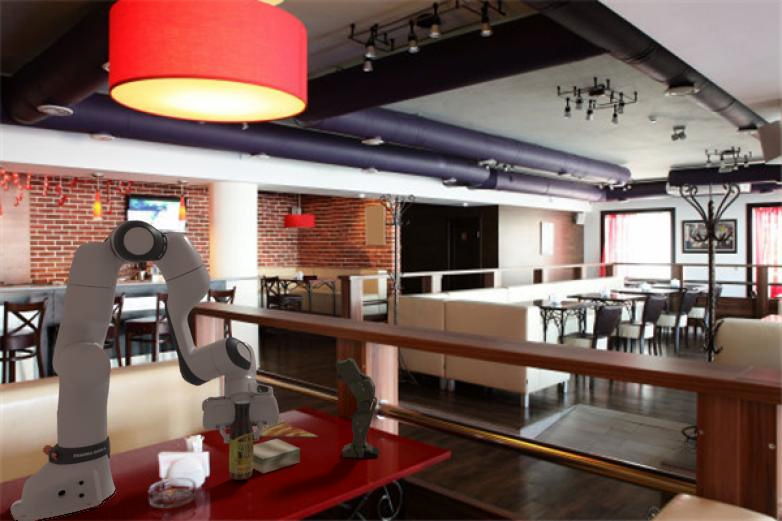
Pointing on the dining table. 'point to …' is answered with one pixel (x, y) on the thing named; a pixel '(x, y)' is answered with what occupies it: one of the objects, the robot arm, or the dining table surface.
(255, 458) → the grey flat block
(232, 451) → the sauce bottle
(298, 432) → the pizza slice
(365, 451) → the mechanical leg
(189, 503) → the dining table surface
